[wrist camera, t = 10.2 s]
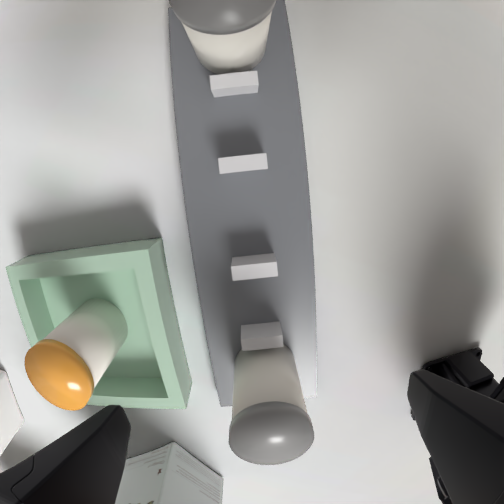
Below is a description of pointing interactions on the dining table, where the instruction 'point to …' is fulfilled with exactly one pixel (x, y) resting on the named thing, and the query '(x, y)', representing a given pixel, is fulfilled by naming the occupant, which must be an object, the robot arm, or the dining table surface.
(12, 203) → the dining table surface
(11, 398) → the medicine bottle
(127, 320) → the tray
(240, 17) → the block
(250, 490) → the dining table surface
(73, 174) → the dining table surface
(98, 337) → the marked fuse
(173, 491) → the supplement box
